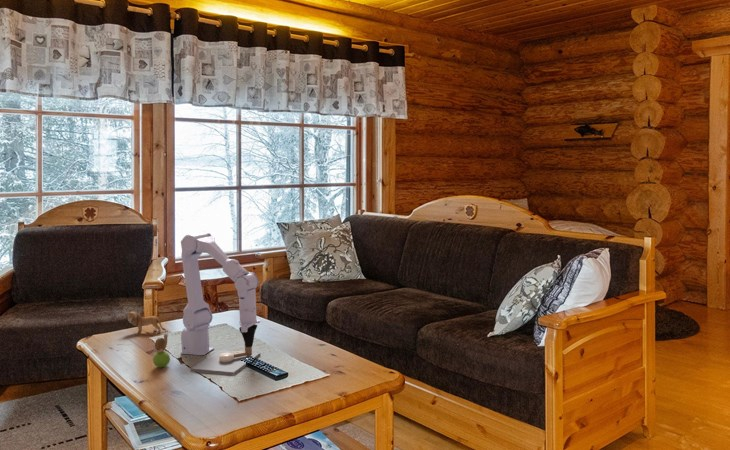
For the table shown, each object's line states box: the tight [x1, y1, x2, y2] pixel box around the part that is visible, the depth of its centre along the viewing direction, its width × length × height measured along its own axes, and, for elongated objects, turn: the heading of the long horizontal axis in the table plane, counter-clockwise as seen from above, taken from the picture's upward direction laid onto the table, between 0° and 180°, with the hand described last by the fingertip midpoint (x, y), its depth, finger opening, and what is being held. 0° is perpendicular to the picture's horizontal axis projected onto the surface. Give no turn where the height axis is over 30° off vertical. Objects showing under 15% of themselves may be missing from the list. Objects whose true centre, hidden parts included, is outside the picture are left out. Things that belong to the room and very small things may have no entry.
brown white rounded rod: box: [219, 345, 253, 362], centre depth 216 cm, size 12×5×4 cm, turn 120°
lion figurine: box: [127, 311, 167, 335], centre depth 253 cm, size 15×5×9 cm, turn 99°
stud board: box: [190, 349, 261, 376], centre depth 214 cm, size 18×20×1 cm
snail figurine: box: [152, 329, 171, 368], centre depth 211 cm, size 5×6×12 cm
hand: (249, 346), depth 216 cm, fingers closed
